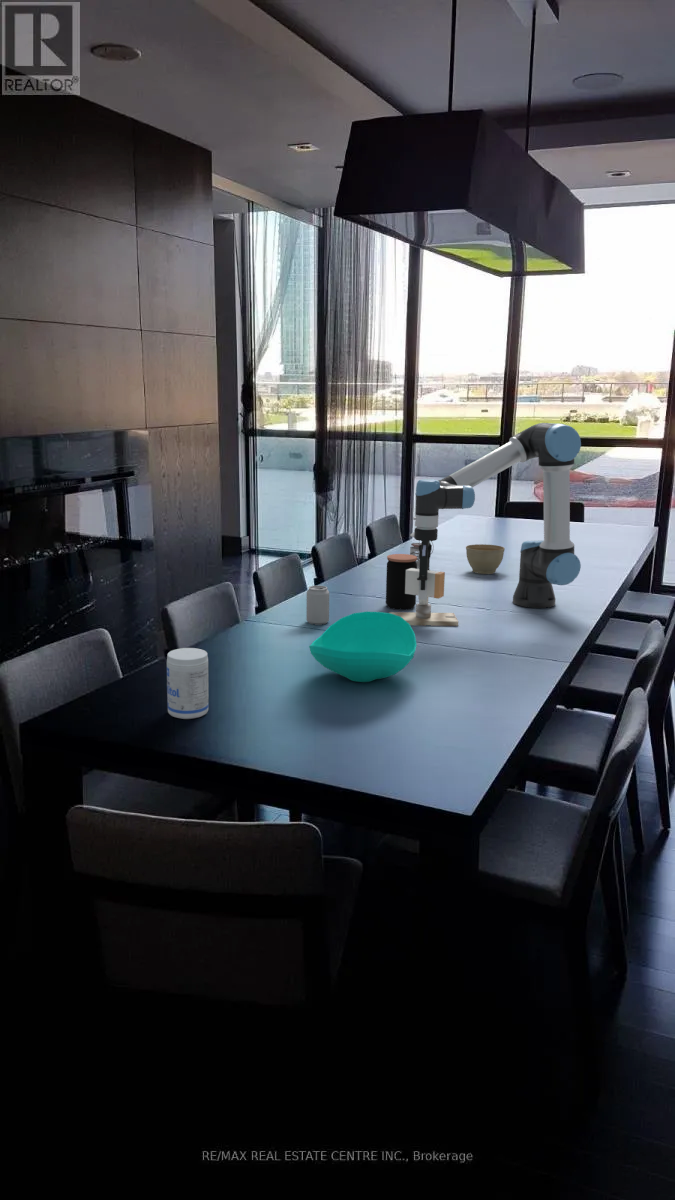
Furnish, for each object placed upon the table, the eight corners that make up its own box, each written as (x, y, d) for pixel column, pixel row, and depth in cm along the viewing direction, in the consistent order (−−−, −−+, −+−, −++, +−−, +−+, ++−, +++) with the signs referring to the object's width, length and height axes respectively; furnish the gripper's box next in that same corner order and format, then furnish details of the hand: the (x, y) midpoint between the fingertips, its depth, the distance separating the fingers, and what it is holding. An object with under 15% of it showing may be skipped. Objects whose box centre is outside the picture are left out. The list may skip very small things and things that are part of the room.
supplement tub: (159, 713, 203) (157, 653, 199) (190, 702, 210) (189, 644, 206) (186, 723, 197) (184, 662, 193) (217, 712, 204) (216, 653, 200)
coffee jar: (413, 611, 299) (415, 560, 295) (383, 609, 301) (384, 558, 297) (417, 603, 310) (419, 554, 305) (387, 602, 312) (389, 553, 307)
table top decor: (399, 708, 208) (401, 656, 204) (290, 697, 214) (290, 646, 211) (425, 660, 245) (427, 615, 242) (331, 651, 252) (332, 607, 249)
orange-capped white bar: (410, 600, 290) (411, 567, 287) (443, 605, 284) (444, 572, 281) (404, 603, 286) (405, 569, 284) (438, 608, 280) (439, 574, 278)
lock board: (453, 617, 292) (454, 601, 291) (458, 625, 281) (459, 609, 280) (388, 616, 292) (389, 600, 291) (391, 625, 281) (391, 608, 280)
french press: (414, 563, 383) (416, 506, 377) (437, 566, 376) (439, 509, 370) (402, 566, 375) (404, 509, 369) (426, 569, 368) (428, 511, 362)
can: (332, 621, 285) (333, 586, 282) (323, 626, 278) (323, 590, 275) (312, 618, 288) (312, 583, 285) (302, 623, 281) (302, 588, 278)
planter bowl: (508, 571, 368) (510, 546, 365) (494, 578, 354) (495, 552, 352) (474, 567, 376) (475, 542, 373) (458, 573, 363) (459, 547, 360)
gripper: (417, 522, 289) (414, 590, 294) (412, 531, 271) (409, 603, 277) (439, 523, 287) (436, 591, 293) (435, 532, 270) (432, 604, 275)
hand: (423, 597), depth 285 cm, fingers closed on orange-capped white bar, 5 cm apart
